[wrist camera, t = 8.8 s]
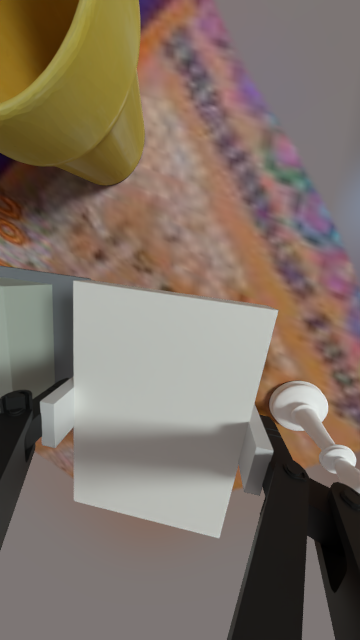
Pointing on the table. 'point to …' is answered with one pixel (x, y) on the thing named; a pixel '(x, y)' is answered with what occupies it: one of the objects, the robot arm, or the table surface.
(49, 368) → the stand
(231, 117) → the table surface
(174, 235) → the table surface
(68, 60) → the plant pot
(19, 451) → the robot arm
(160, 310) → the board
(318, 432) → the chess piece
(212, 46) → the table surface
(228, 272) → the table surface
